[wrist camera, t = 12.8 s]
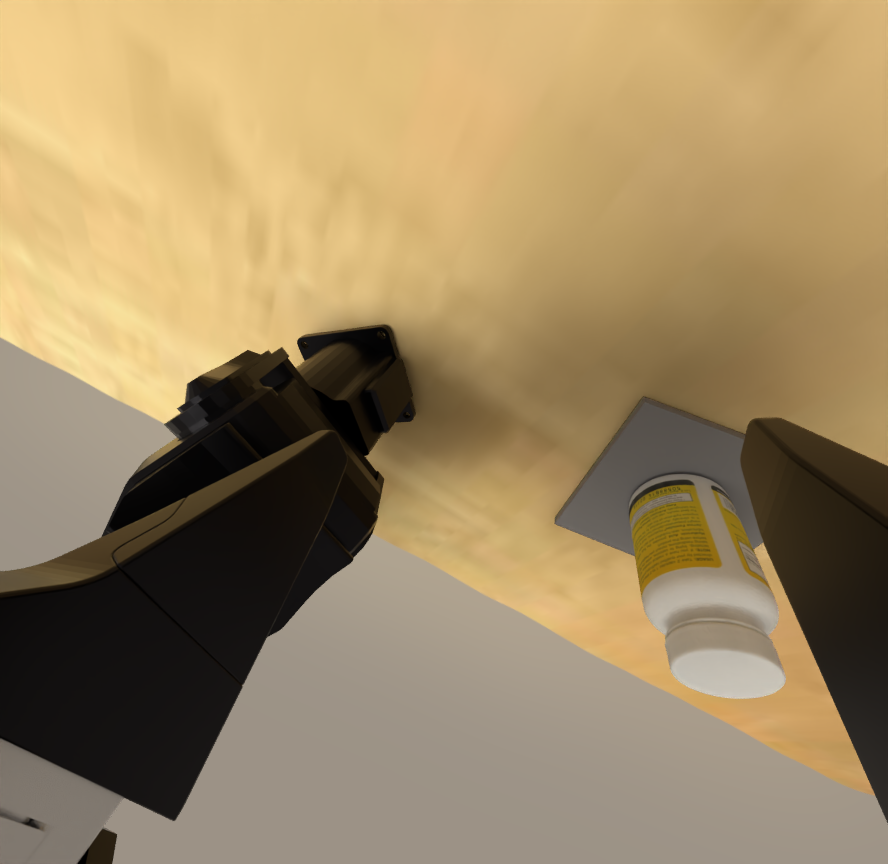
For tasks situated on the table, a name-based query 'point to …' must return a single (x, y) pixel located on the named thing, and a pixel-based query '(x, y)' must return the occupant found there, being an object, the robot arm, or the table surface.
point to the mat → (655, 471)
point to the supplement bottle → (705, 588)
